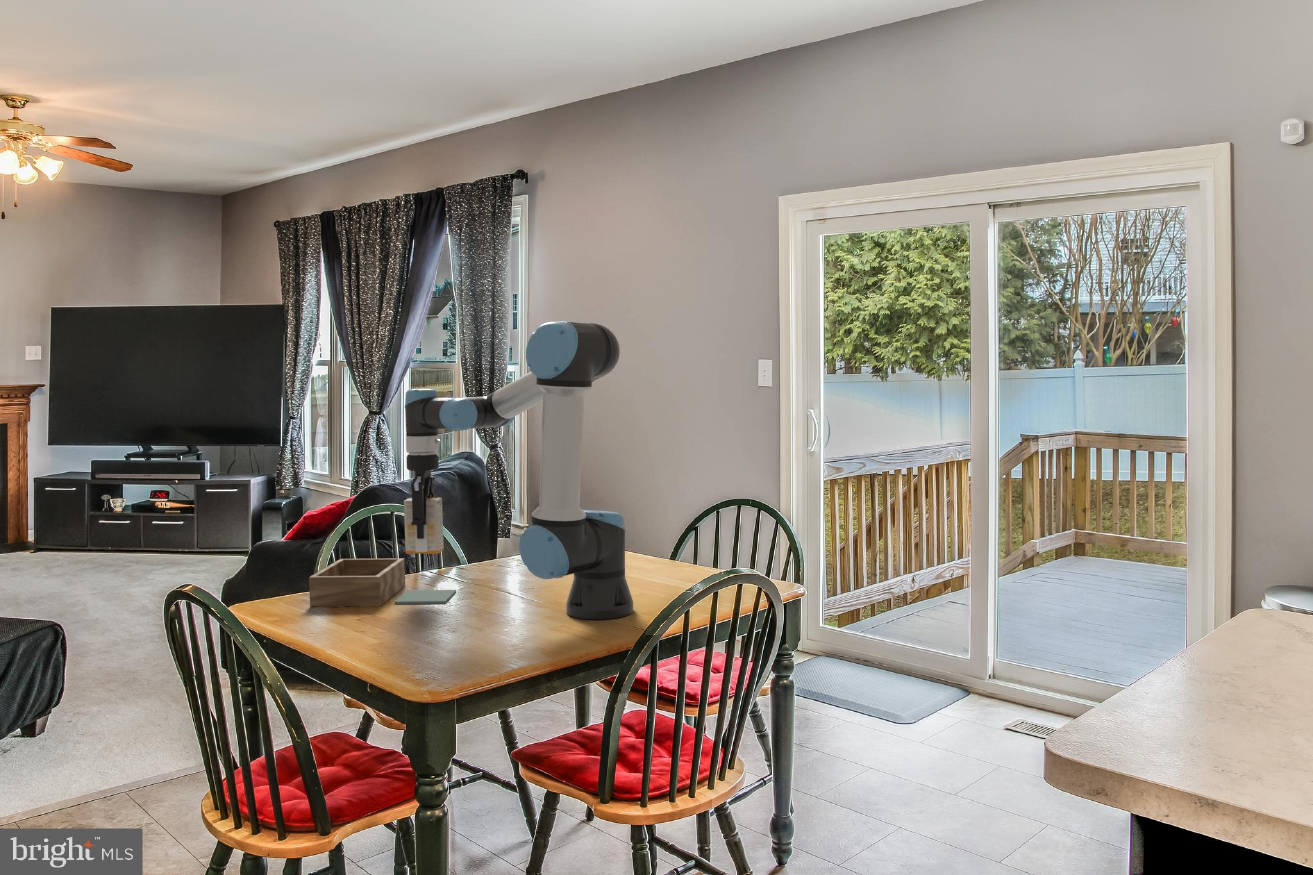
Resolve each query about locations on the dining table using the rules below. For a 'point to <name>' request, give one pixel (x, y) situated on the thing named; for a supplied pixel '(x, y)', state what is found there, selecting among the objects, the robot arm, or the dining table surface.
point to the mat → (425, 597)
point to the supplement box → (433, 526)
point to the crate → (357, 582)
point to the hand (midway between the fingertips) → (424, 549)
